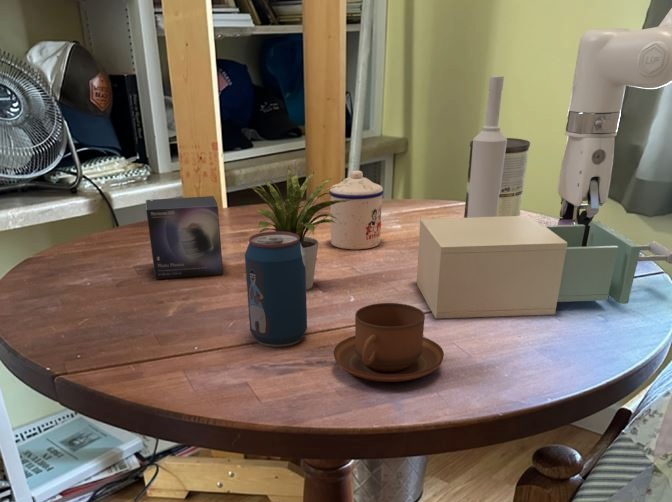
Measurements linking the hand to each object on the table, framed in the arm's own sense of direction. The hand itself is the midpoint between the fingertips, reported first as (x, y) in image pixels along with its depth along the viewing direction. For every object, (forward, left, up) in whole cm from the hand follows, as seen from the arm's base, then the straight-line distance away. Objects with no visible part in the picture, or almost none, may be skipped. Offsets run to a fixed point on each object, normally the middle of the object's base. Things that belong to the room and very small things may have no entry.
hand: (570, 245), depth 117 cm
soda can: (+49, +36, 0) cm, 61 cm away
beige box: (+21, +24, 0) cm, 32 cm away
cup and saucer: (+37, +46, 0) cm, 59 cm away
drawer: (+7, +24, +1) cm, 25 cm away
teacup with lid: (+35, -8, 0) cm, 36 cm away
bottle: (+15, -2, 0) cm, 15 cm away
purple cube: (0, 0, 0) cm, 0 cm away
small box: (+63, +7, 0) cm, 63 cm away
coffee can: (+9, -17, 0) cm, 19 cm away
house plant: (+47, +17, 0) cm, 50 cm away
